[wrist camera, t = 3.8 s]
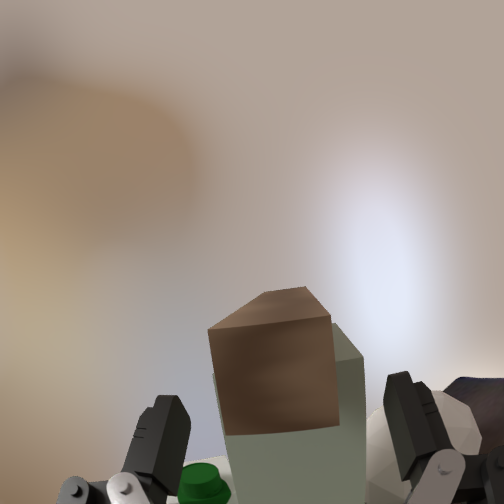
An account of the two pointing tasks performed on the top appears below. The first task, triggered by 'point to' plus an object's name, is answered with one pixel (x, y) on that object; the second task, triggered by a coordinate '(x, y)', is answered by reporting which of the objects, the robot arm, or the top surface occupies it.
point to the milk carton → (206, 483)
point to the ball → (383, 455)
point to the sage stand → (309, 449)
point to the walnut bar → (276, 365)
